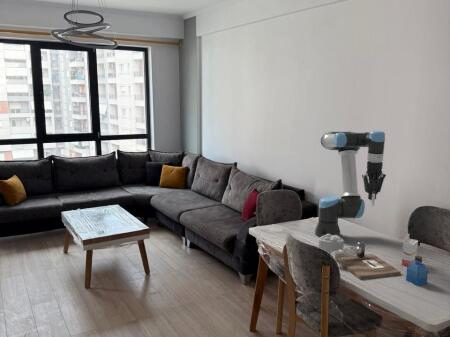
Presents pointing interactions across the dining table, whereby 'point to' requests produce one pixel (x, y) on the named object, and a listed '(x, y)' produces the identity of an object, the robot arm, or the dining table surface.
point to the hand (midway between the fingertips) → (371, 205)
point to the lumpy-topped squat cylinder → (330, 243)
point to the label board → (367, 266)
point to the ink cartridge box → (409, 250)
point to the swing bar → (350, 251)
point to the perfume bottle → (417, 272)
